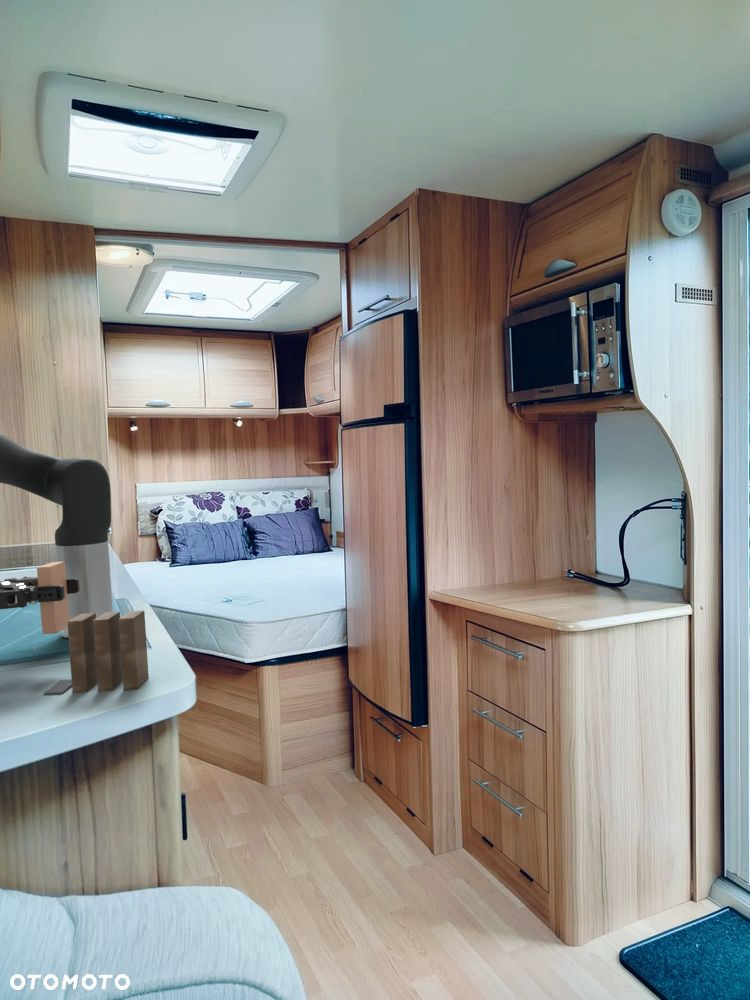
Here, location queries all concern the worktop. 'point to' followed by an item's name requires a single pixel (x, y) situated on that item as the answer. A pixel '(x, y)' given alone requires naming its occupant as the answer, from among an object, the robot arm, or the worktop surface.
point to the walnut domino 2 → (108, 651)
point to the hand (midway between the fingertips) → (70, 589)
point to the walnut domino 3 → (133, 649)
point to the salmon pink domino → (54, 611)
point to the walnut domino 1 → (82, 652)
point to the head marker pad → (59, 687)
